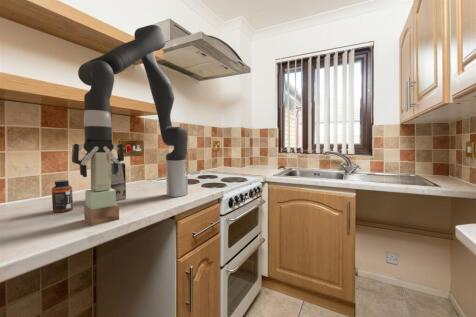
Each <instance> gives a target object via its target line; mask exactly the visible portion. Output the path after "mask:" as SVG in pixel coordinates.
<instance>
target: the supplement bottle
mask: <svg viewBox="0 0 476 317" xmlns="http://www.w3.org/2000/svg"><path fill="white" fill-rule="evenodd" d="M54 185H55V186H54V187H52V188H51V198H52V199H51V200H52V212H53V213H66V212H70V211H71V210H73V209H74V202H73V201H74V200H73V197H74V196H73V187H72V185H70V184H69V179H62V180H60V179H59V180H55V181H54Z"/></svg>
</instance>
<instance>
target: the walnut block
mask: <svg viewBox="0 0 476 317" xmlns="http://www.w3.org/2000/svg"><path fill="white" fill-rule="evenodd" d="M83 214H84V221H85V222H86V223H87V224H88V225H90V226H91V227H92V226H96V225H97V226H98V225H101V224H106V223H109V222H115V221H119V220H120V205H119V204H117V203H116V206H110V207H105V208H99V209H93V210H91V209H90V208H88V207H87V206H86V204H84V205H83Z"/></svg>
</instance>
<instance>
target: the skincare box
mask: <svg viewBox="0 0 476 317" xmlns="http://www.w3.org/2000/svg"><path fill="white" fill-rule="evenodd" d="M110 163H111V160H110V153H95V154H94V157H91V158H90V190H94V191H103V190H111V170H110Z"/></svg>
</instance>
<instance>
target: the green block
mask: <svg viewBox="0 0 476 317" xmlns="http://www.w3.org/2000/svg"><path fill="white" fill-rule="evenodd" d="M84 195H85V198H84V199H85V205H86V206H87V207H88V208H90V209H91V210H93V209H99V208H105V207H110V206H116V204H117V200H116V190H114V189H111V190H103V191H94V190H92V189H86V190H85V191H84Z"/></svg>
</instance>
